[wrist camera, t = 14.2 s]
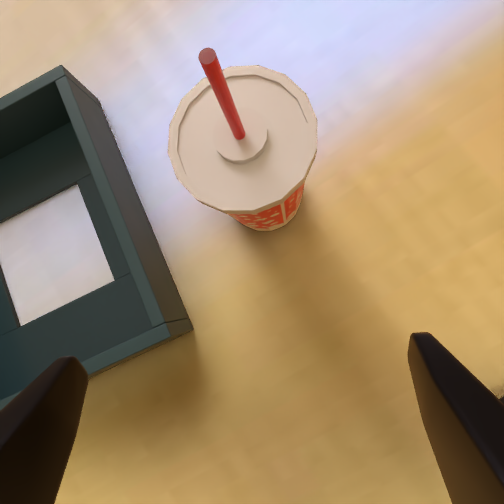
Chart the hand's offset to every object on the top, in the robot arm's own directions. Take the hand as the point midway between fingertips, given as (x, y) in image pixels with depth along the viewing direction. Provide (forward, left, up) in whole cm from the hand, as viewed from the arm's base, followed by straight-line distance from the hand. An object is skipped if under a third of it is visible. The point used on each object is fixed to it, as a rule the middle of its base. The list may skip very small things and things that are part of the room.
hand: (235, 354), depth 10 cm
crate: (+3, +16, -13) cm, 21 cm away
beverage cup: (+8, +1, -13) cm, 15 cm away
